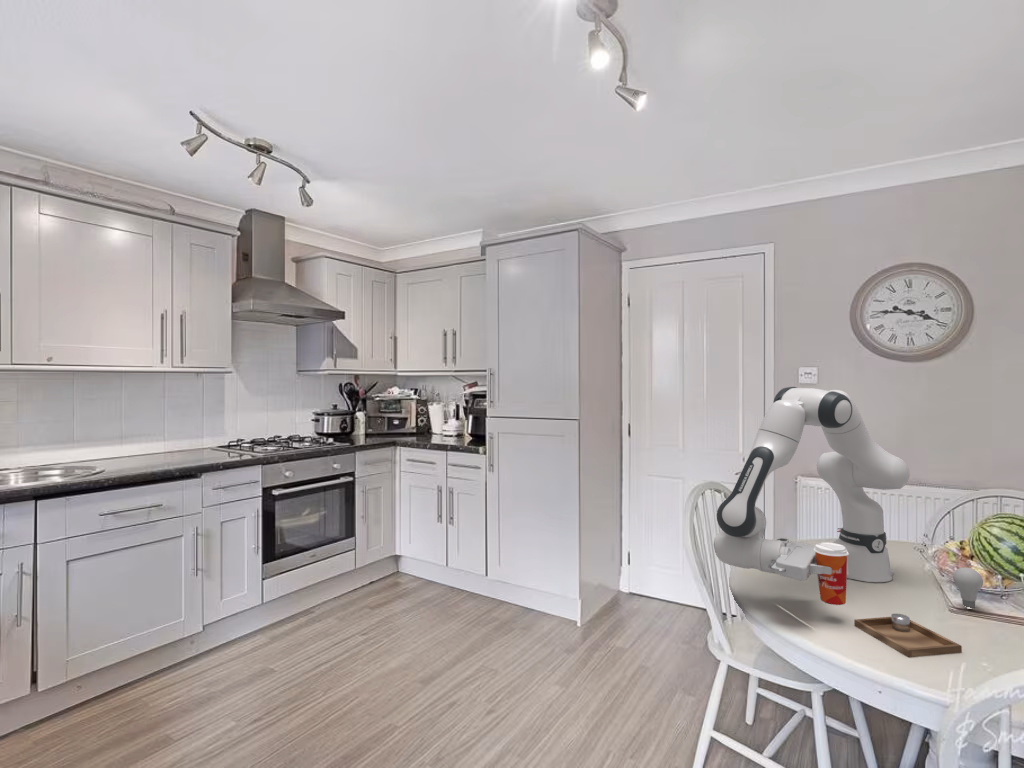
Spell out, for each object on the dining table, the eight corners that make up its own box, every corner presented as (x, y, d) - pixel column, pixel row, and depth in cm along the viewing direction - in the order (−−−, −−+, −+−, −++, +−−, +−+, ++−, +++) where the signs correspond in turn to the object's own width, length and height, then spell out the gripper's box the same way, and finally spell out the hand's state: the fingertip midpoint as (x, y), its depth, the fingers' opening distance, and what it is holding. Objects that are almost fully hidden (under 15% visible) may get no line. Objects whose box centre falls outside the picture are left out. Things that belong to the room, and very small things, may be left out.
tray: (854, 627, 133) (854, 619, 133) (902, 624, 134) (901, 615, 134) (908, 659, 117) (908, 650, 117) (961, 655, 118) (961, 645, 118)
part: (888, 626, 132) (887, 614, 132) (901, 625, 132) (901, 613, 132) (900, 632, 128) (899, 620, 129) (913, 631, 129) (913, 619, 129)
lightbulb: (976, 605, 144) (974, 564, 144) (989, 614, 138) (987, 572, 138) (949, 603, 145) (947, 563, 146) (961, 613, 140) (959, 571, 140)
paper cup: (809, 599, 138) (807, 545, 138) (825, 592, 142) (822, 540, 142) (842, 609, 131) (839, 553, 131) (856, 601, 135) (854, 546, 135)
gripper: (765, 556, 137) (826, 565, 128) (784, 536, 153) (839, 543, 144) (766, 580, 137) (828, 591, 128) (785, 558, 153) (840, 567, 144)
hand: (834, 566), depth 136 cm, fingers closed on paper cup, 6 cm apart
